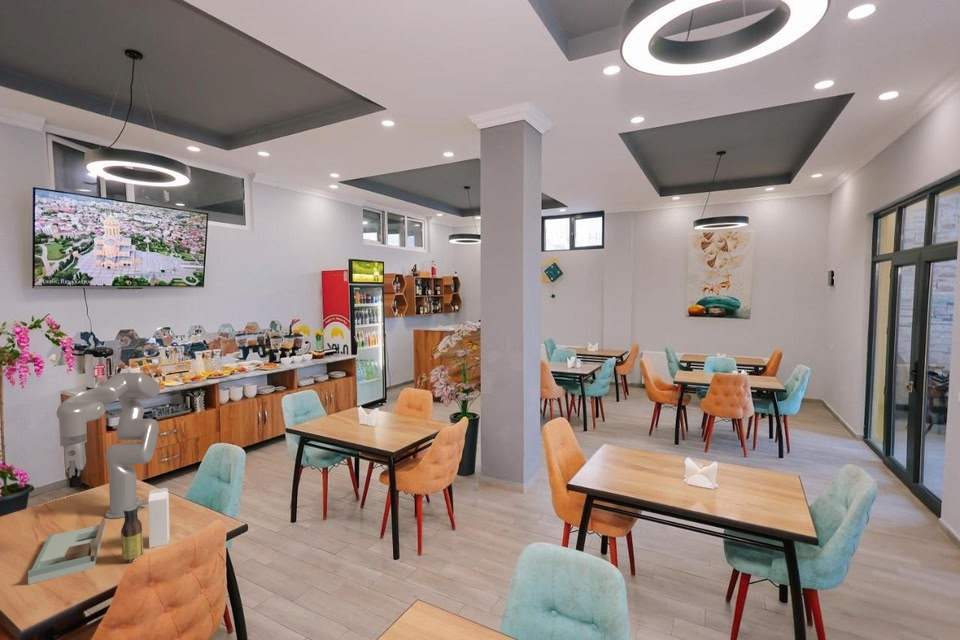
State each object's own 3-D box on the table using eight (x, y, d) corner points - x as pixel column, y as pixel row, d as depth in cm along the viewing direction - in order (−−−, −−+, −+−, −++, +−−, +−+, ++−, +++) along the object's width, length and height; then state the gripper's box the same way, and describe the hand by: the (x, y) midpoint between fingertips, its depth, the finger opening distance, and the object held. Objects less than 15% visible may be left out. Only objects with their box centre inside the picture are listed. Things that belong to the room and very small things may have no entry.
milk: (167, 544, 175) (166, 490, 174) (148, 548, 172) (147, 493, 171) (169, 537, 180) (168, 484, 179) (151, 541, 177) (150, 487, 176)
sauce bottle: (130, 554, 168) (128, 503, 167) (147, 554, 169) (146, 503, 168) (117, 564, 162) (116, 511, 161) (135, 564, 162) (134, 511, 161)
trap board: (105, 529, 186) (105, 517, 186) (94, 567, 160) (94, 554, 159) (49, 541, 176) (49, 529, 176) (28, 584, 150) (27, 570, 150)
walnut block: (90, 552, 165) (90, 542, 164) (87, 561, 160) (87, 550, 159) (69, 557, 161) (68, 547, 161) (65, 566, 156) (64, 555, 156)
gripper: (83, 443, 163) (85, 491, 165) (89, 432, 176) (91, 476, 177) (56, 447, 159) (58, 496, 160) (64, 435, 171) (66, 481, 172)
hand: (75, 486), depth 169 cm, fingers closed
